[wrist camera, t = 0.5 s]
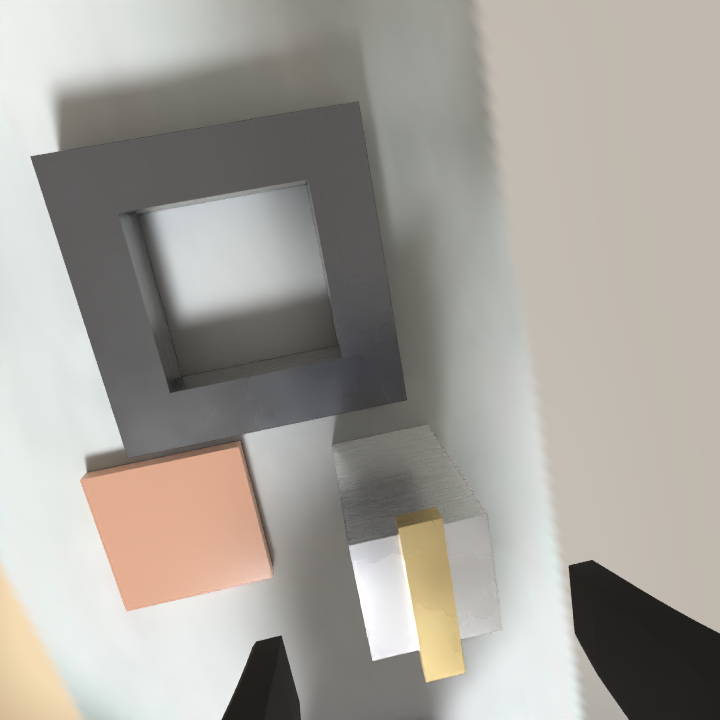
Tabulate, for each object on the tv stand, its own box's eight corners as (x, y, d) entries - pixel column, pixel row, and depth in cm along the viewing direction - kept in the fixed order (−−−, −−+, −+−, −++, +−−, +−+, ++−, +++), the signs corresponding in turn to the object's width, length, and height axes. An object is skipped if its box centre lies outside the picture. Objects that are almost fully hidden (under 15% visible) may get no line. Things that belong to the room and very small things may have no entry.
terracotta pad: (273, 568, 22) (272, 578, 22) (131, 601, 22) (126, 611, 21) (240, 440, 21) (238, 446, 20) (86, 472, 20) (80, 480, 20)
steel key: (442, 521, 23) (511, 661, 15) (352, 541, 22) (379, 694, 15) (425, 410, 21) (492, 507, 14) (328, 431, 21) (346, 539, 14)
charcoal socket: (396, 383, 21) (406, 399, 19) (143, 436, 20) (127, 458, 18) (351, 114, 18) (358, 101, 16) (59, 164, 18) (30, 156, 16)
